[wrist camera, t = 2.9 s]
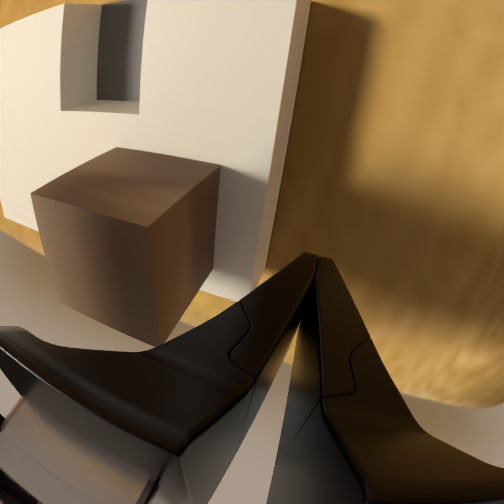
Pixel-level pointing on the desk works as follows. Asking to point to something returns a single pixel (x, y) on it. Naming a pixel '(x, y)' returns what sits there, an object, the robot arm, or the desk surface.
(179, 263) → the walnut block
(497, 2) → the desk surface
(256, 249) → the board
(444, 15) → the desk surface
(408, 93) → the desk surface
